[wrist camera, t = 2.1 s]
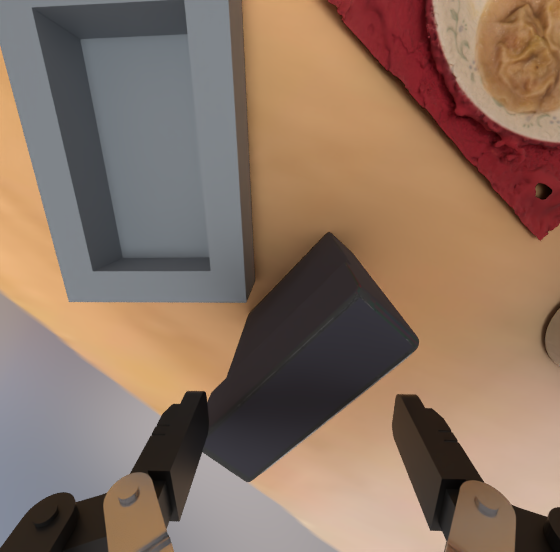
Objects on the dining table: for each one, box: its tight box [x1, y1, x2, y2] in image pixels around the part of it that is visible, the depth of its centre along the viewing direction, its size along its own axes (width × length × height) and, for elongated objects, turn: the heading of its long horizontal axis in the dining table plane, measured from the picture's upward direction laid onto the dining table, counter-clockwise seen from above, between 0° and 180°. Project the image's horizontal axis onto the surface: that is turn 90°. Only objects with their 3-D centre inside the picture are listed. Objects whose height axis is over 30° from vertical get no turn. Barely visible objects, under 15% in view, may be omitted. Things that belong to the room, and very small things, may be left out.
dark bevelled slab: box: [202, 232, 419, 482], centre depth 20 cm, size 11×4×15 cm, turn 138°
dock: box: [0, 0, 255, 303], centre depth 21 cm, size 14×21×5 cm, turn 1°
